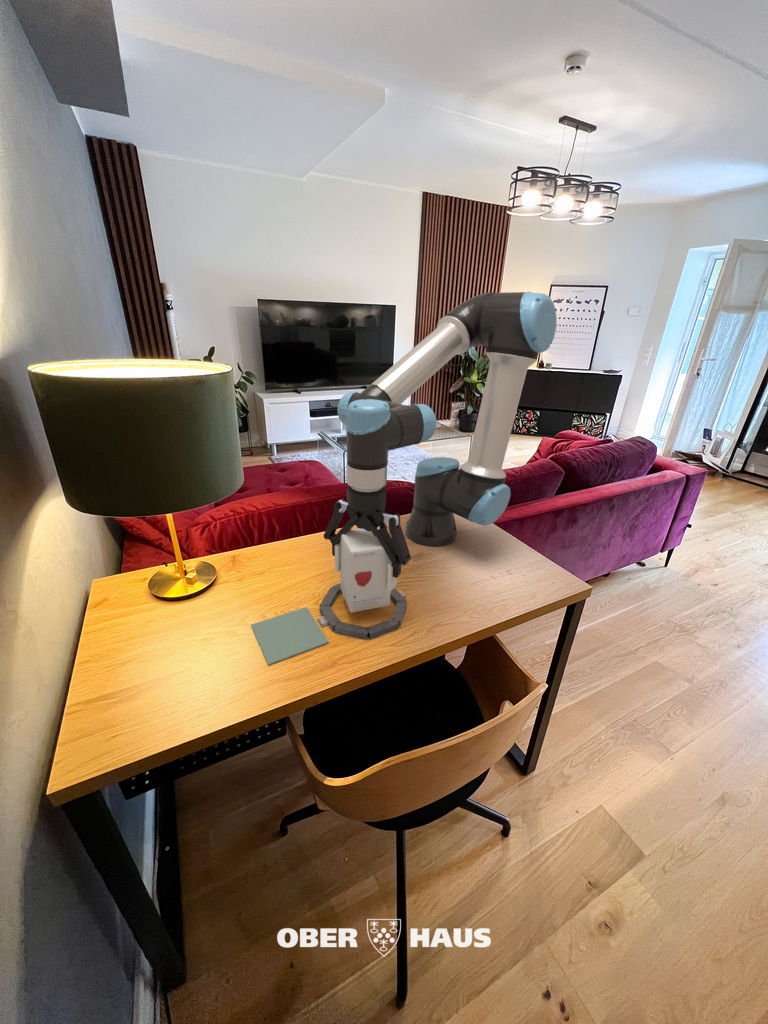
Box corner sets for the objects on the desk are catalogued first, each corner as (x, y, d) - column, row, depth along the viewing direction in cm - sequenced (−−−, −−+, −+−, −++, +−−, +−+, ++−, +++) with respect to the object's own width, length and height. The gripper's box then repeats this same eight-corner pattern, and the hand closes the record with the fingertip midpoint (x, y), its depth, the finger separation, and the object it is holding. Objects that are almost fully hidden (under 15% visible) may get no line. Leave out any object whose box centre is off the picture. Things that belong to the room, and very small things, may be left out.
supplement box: (349, 614, 84) (349, 552, 78) (339, 588, 92) (338, 530, 85) (391, 606, 87) (394, 545, 80) (378, 581, 94) (380, 524, 88)
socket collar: (383, 575, 102) (383, 570, 102) (425, 618, 89) (426, 612, 88) (304, 599, 92) (303, 594, 92) (338, 652, 79) (338, 646, 78)
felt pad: (306, 608, 90) (306, 606, 90) (328, 643, 81) (328, 641, 81) (251, 626, 84) (251, 624, 84) (268, 665, 75) (268, 664, 75)
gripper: (433, 492, 75) (424, 587, 85) (326, 466, 86) (329, 553, 95) (416, 507, 69) (408, 607, 79) (303, 477, 80) (308, 569, 89)
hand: (365, 578), depth 87 cm, fingers closed on supplement box, 12 cm apart
